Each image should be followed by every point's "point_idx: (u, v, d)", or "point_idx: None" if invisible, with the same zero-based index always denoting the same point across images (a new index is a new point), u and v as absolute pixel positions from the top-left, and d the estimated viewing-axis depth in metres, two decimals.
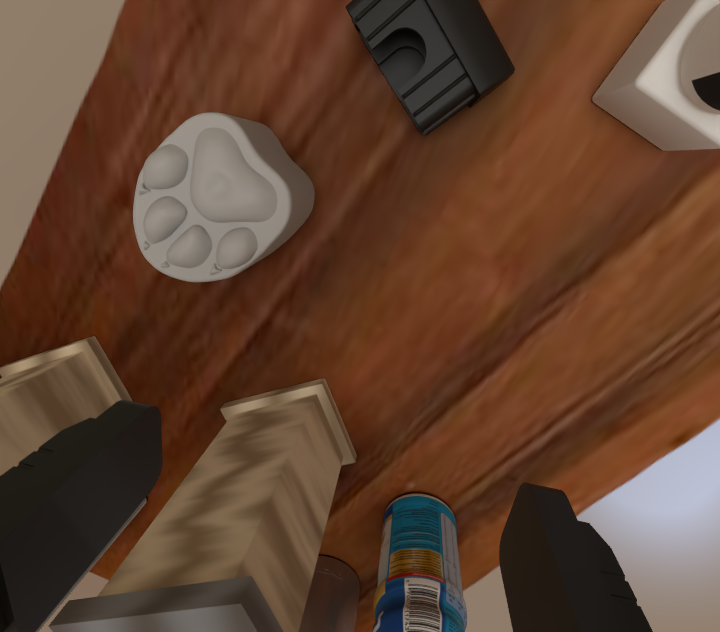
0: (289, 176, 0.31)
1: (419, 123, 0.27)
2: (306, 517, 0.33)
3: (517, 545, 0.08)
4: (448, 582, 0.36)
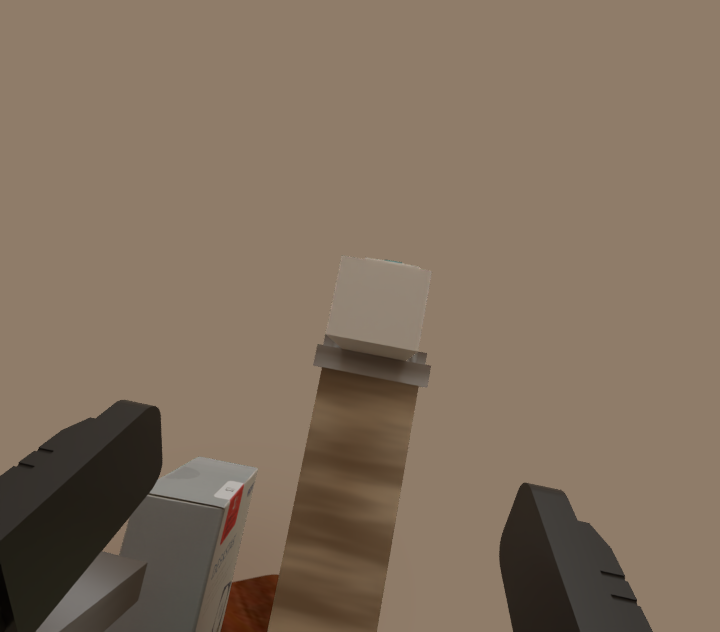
0: None
1: None
2: None
3: (517, 545, 0.08)
4: None
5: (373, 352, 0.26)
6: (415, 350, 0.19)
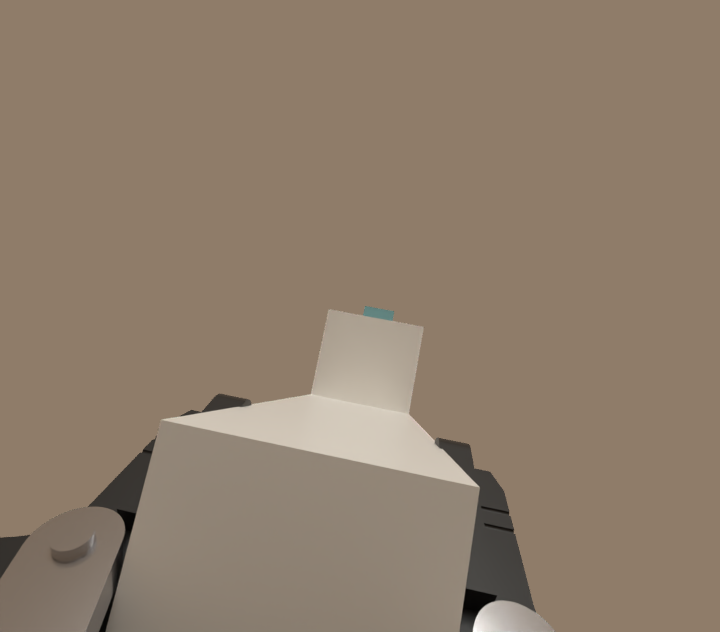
0: None
1: None
2: None
3: None
4: None
5: None
6: None
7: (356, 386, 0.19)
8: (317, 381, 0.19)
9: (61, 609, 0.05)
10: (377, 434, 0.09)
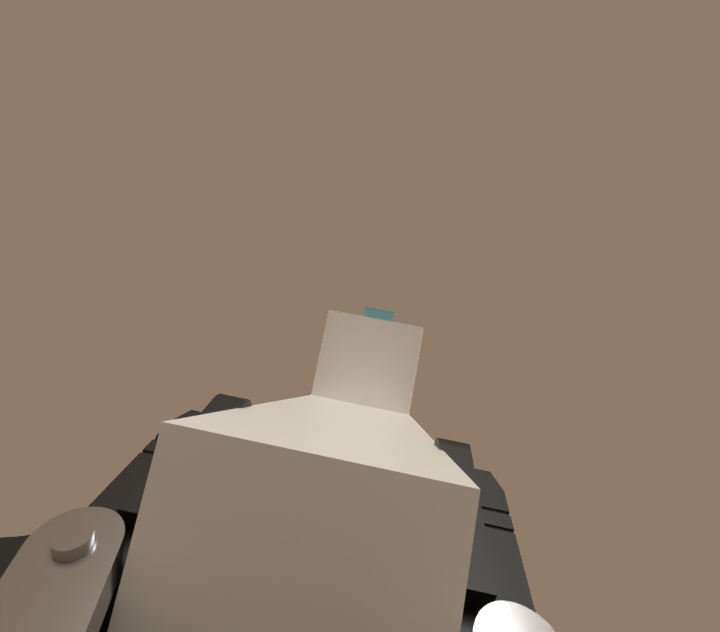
0: None
1: None
2: None
3: None
4: None
5: None
6: None
7: (357, 386, 0.19)
8: (317, 382, 0.19)
9: (61, 609, 0.05)
10: (377, 435, 0.09)
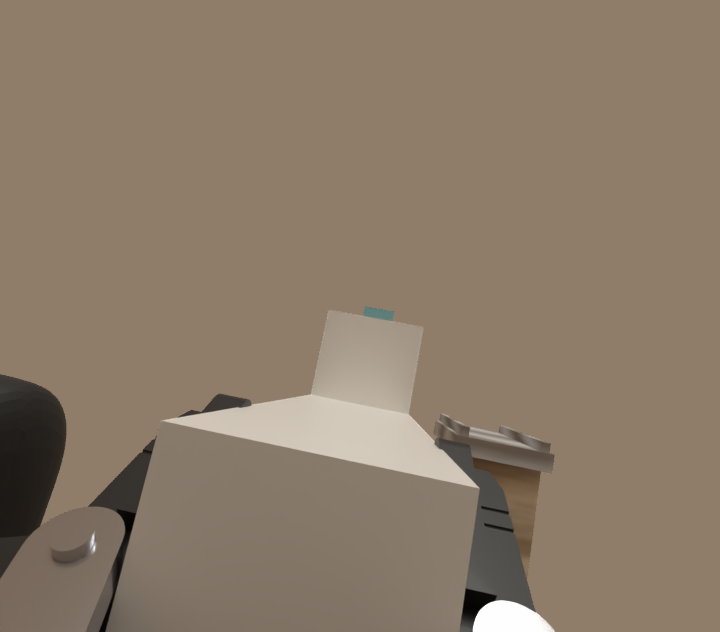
0: None
1: None
2: None
3: None
4: None
5: None
6: None
7: (356, 386, 0.19)
8: (317, 381, 0.19)
9: (61, 609, 0.05)
10: (377, 435, 0.09)
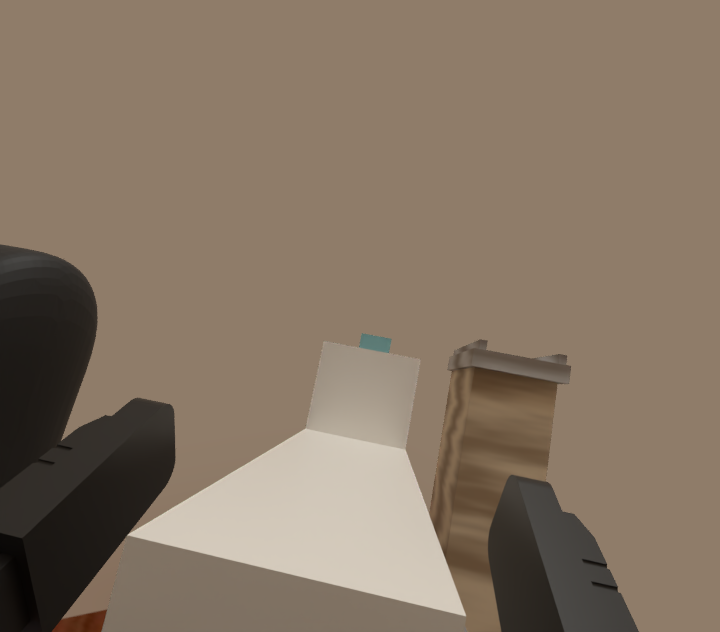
0: None
1: None
2: None
3: (504, 535, 0.08)
4: None
5: None
6: None
7: (352, 420, 0.18)
8: (312, 415, 0.18)
9: None
10: (365, 509, 0.09)
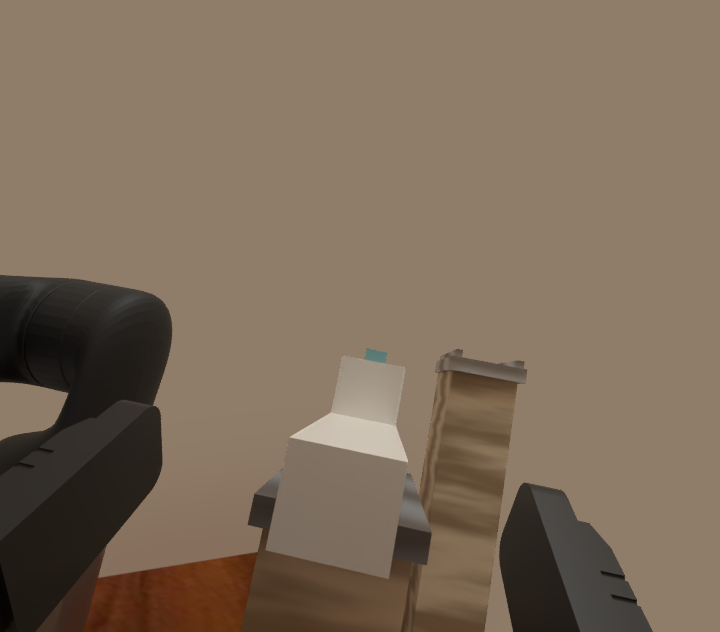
0: None
1: None
2: None
3: (516, 545, 0.08)
4: None
5: None
6: (385, 576, 0.14)
7: (361, 407, 0.28)
8: (335, 404, 0.28)
9: None
10: (372, 441, 0.18)
